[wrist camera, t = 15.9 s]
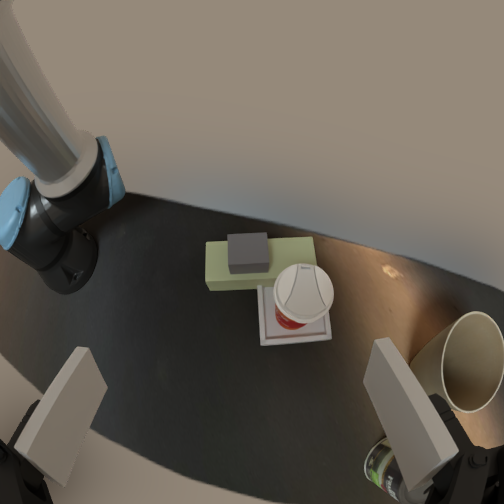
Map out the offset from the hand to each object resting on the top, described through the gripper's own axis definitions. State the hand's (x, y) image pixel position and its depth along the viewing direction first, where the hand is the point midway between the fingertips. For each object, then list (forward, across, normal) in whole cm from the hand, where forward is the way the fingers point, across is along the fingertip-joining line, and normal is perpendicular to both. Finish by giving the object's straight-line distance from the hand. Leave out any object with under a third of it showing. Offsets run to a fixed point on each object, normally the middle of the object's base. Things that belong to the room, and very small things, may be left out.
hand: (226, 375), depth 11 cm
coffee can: (+10, +24, -38) cm, 46 cm away
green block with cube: (+33, +4, -15) cm, 36 cm away
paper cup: (+30, +8, -17) cm, 35 cm away
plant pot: (+21, +32, -27) cm, 47 cm away
